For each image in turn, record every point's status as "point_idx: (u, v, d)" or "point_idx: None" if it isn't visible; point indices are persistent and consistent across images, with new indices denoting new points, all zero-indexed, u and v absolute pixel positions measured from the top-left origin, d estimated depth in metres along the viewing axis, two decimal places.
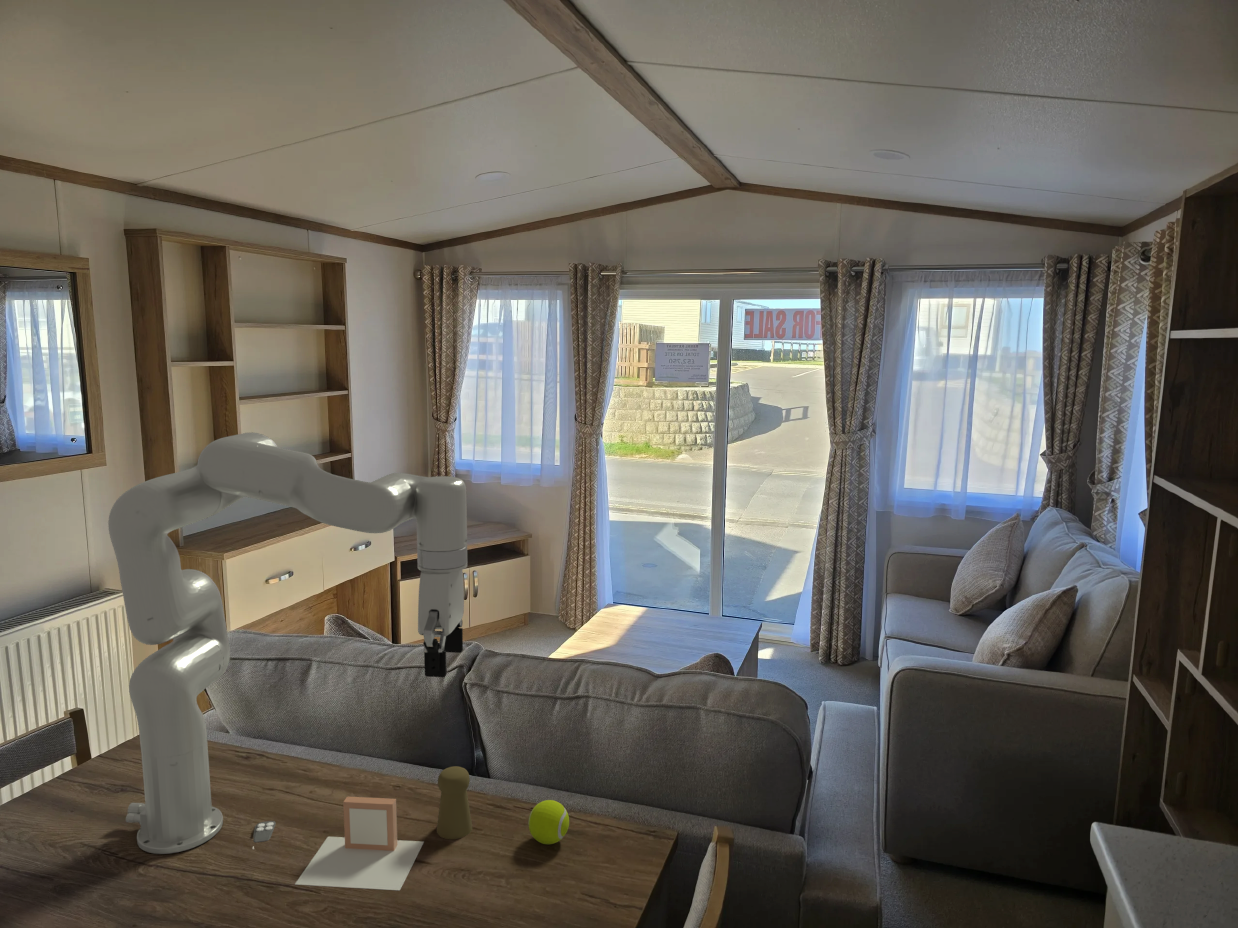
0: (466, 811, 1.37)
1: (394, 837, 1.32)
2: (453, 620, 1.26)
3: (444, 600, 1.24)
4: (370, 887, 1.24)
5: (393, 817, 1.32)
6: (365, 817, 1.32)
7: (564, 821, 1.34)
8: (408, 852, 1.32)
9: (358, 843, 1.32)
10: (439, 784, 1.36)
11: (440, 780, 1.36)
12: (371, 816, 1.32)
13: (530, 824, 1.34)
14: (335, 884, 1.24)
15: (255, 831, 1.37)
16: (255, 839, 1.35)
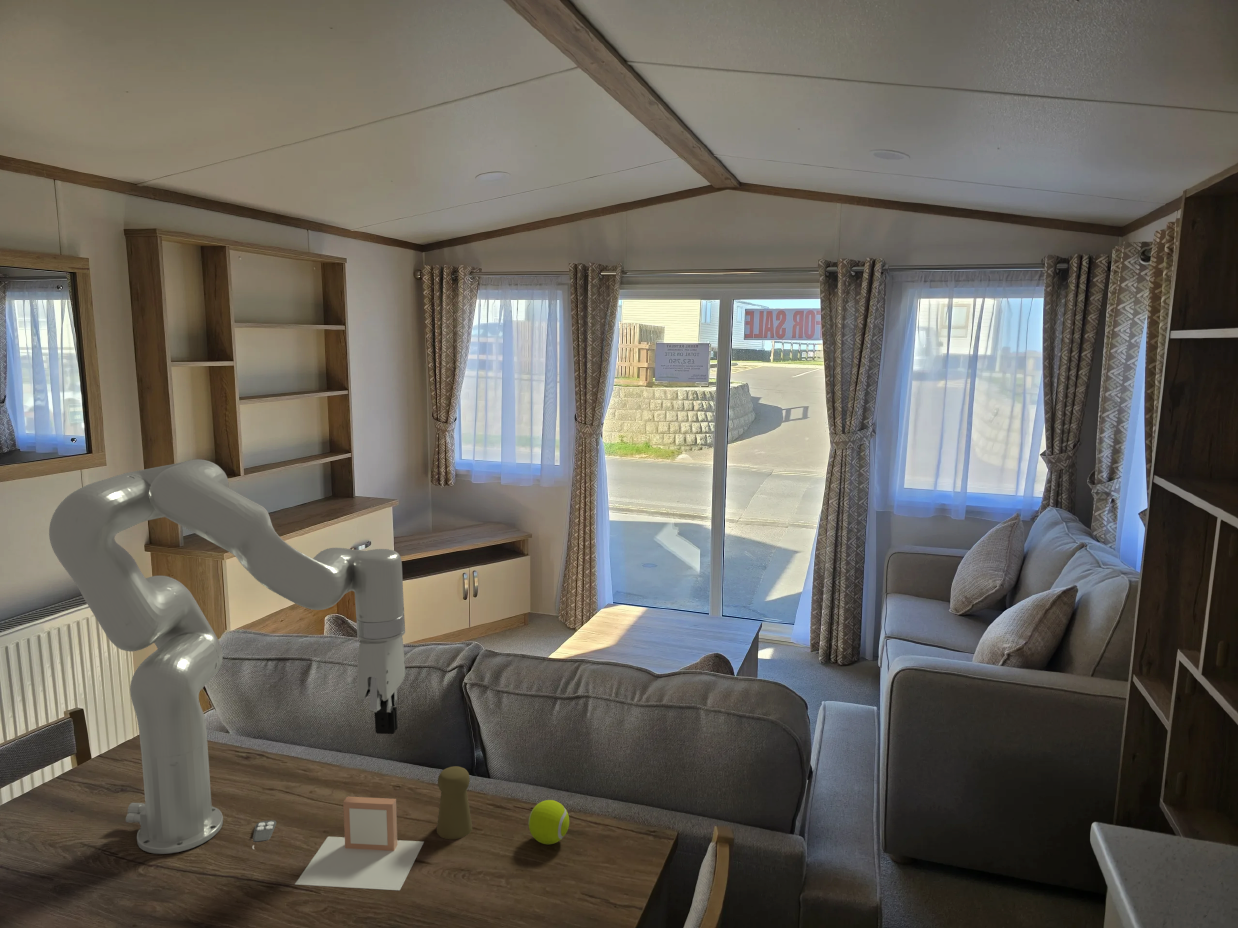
0: (466, 811, 1.37)
1: (394, 837, 1.32)
2: (392, 685, 1.34)
3: (381, 667, 1.31)
4: (370, 887, 1.24)
5: (393, 817, 1.32)
6: (365, 817, 1.32)
7: (564, 821, 1.34)
8: (408, 852, 1.32)
9: (358, 843, 1.32)
10: (439, 784, 1.36)
11: (440, 780, 1.36)
12: (371, 816, 1.32)
13: (530, 824, 1.34)
14: (335, 884, 1.24)
15: (255, 830, 1.37)
16: (255, 838, 1.35)
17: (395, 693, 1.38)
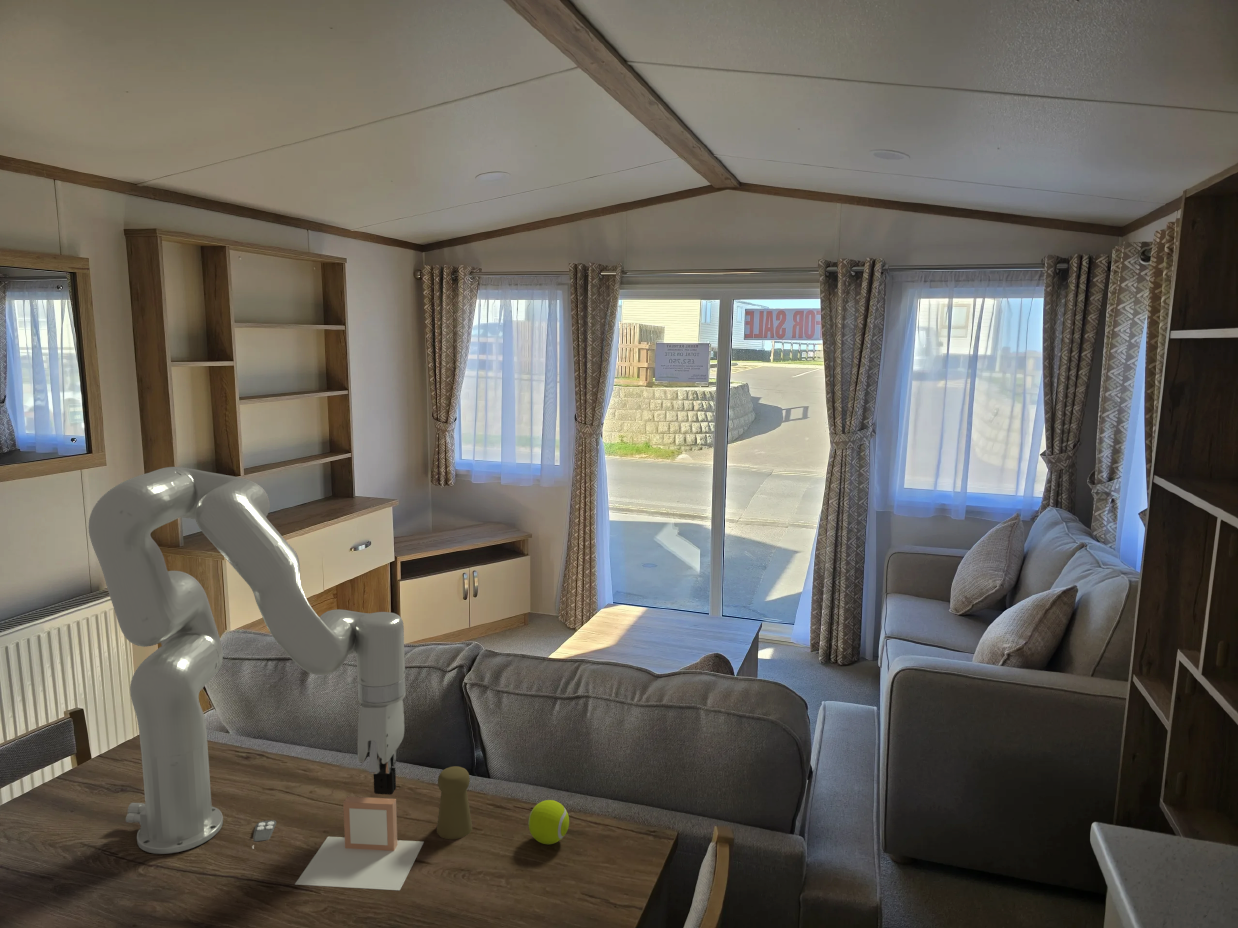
0: (466, 811, 1.37)
1: (394, 837, 1.32)
2: (391, 748, 1.35)
3: (381, 731, 1.33)
4: (370, 887, 1.24)
5: (393, 817, 1.32)
6: (365, 817, 1.32)
7: (564, 821, 1.34)
8: (408, 852, 1.32)
9: (358, 843, 1.32)
10: (439, 784, 1.36)
11: (440, 780, 1.36)
12: (371, 816, 1.32)
13: (530, 824, 1.34)
14: (335, 884, 1.24)
15: (255, 830, 1.37)
16: (255, 838, 1.35)
17: (394, 754, 1.40)
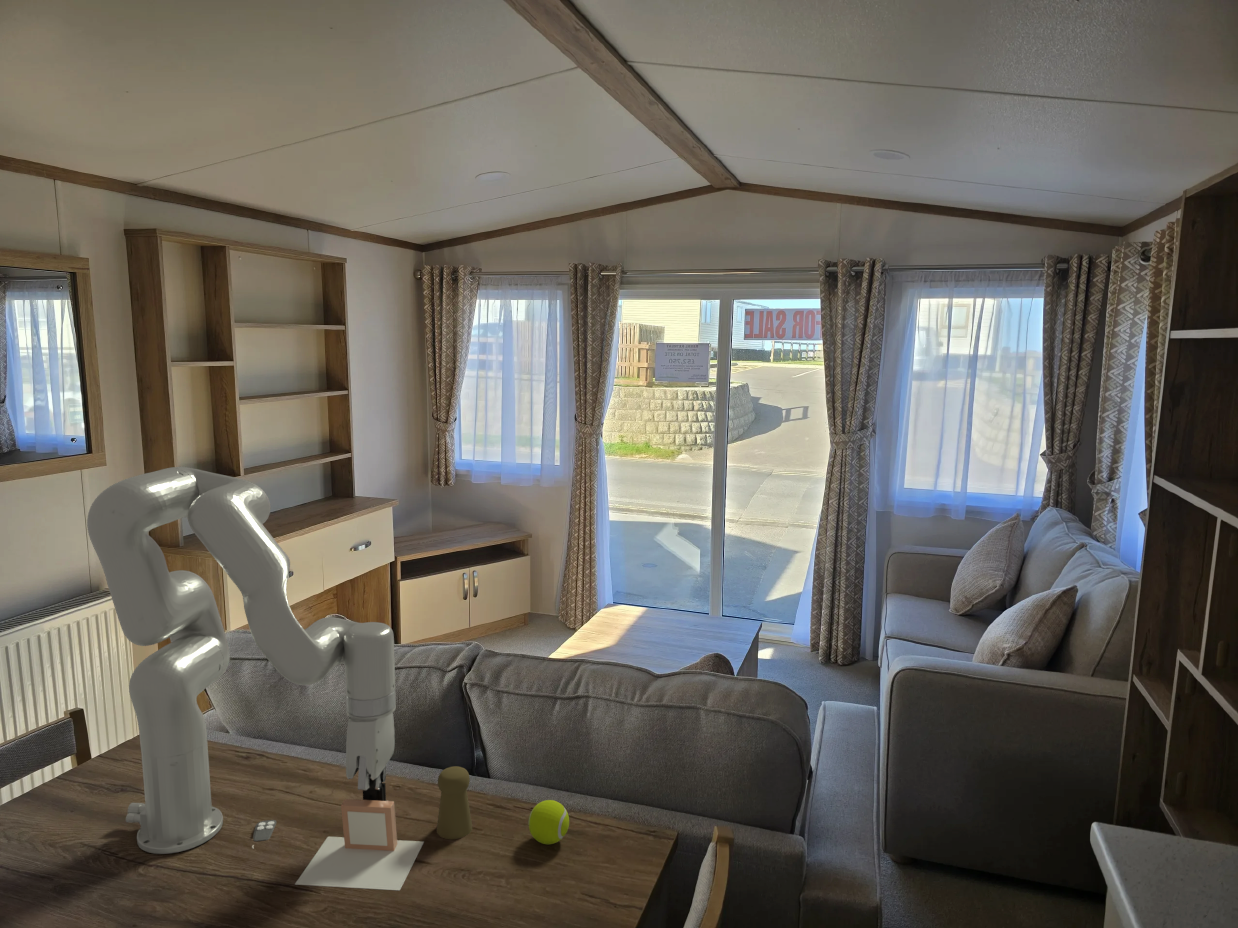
0: (466, 811, 1.37)
1: (393, 838, 1.32)
2: (381, 763, 1.31)
3: (371, 746, 1.28)
4: (370, 887, 1.24)
5: (392, 819, 1.31)
6: (364, 820, 1.31)
7: (564, 821, 1.34)
8: (408, 852, 1.32)
9: (358, 844, 1.32)
10: (439, 784, 1.36)
11: (440, 780, 1.36)
12: (370, 819, 1.31)
13: (530, 824, 1.34)
14: (335, 884, 1.24)
15: (255, 830, 1.37)
16: (255, 838, 1.35)
17: (384, 769, 1.35)
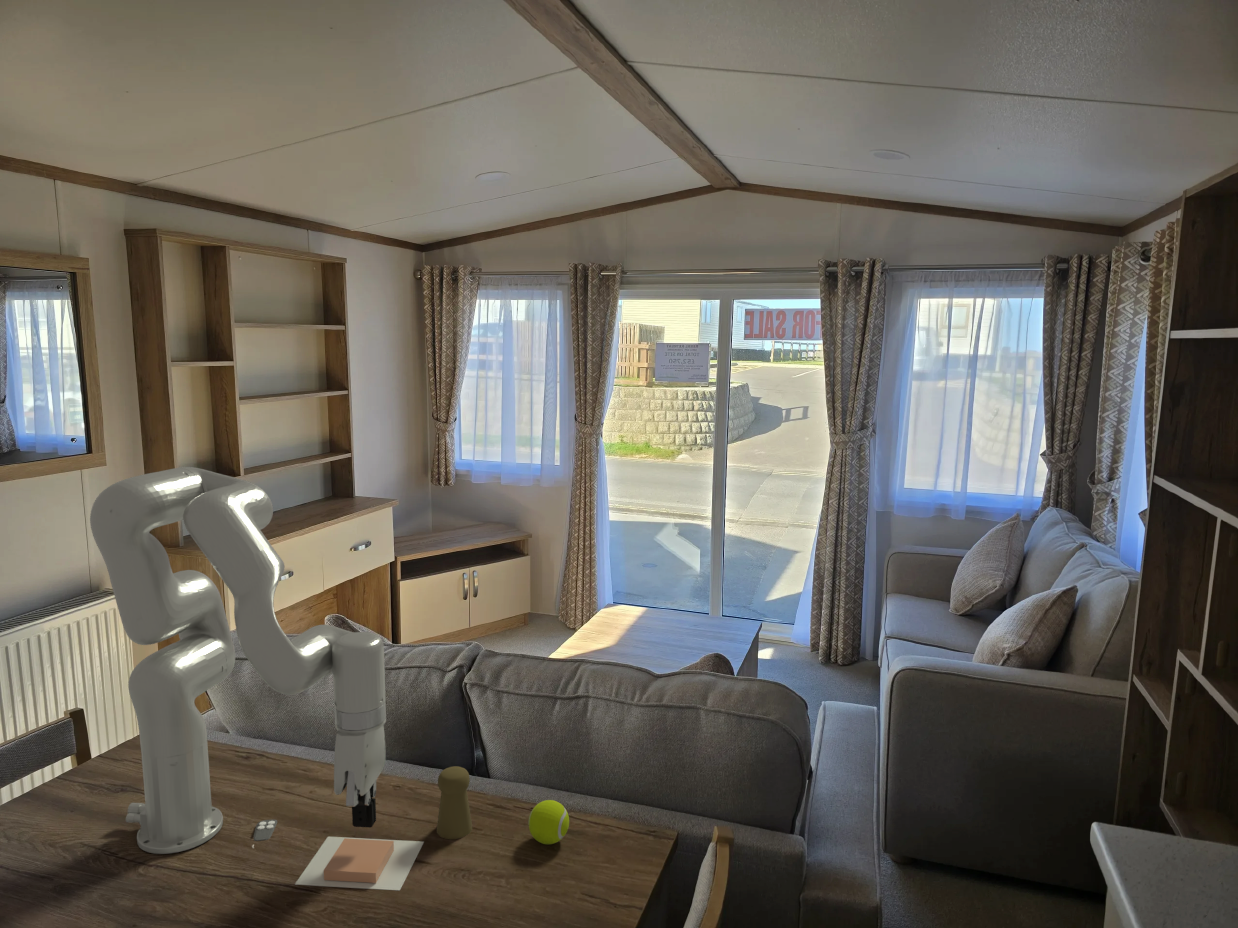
0: (466, 811, 1.37)
1: (389, 855, 1.30)
2: (370, 778, 1.26)
3: (359, 761, 1.24)
4: (370, 887, 1.24)
5: (381, 871, 1.27)
6: None
7: (564, 821, 1.34)
8: (408, 852, 1.32)
9: None
10: (439, 784, 1.36)
11: (440, 780, 1.36)
12: None
13: (530, 824, 1.34)
14: (335, 884, 1.24)
15: (256, 829, 1.37)
16: (255, 838, 1.35)
17: (374, 783, 1.30)
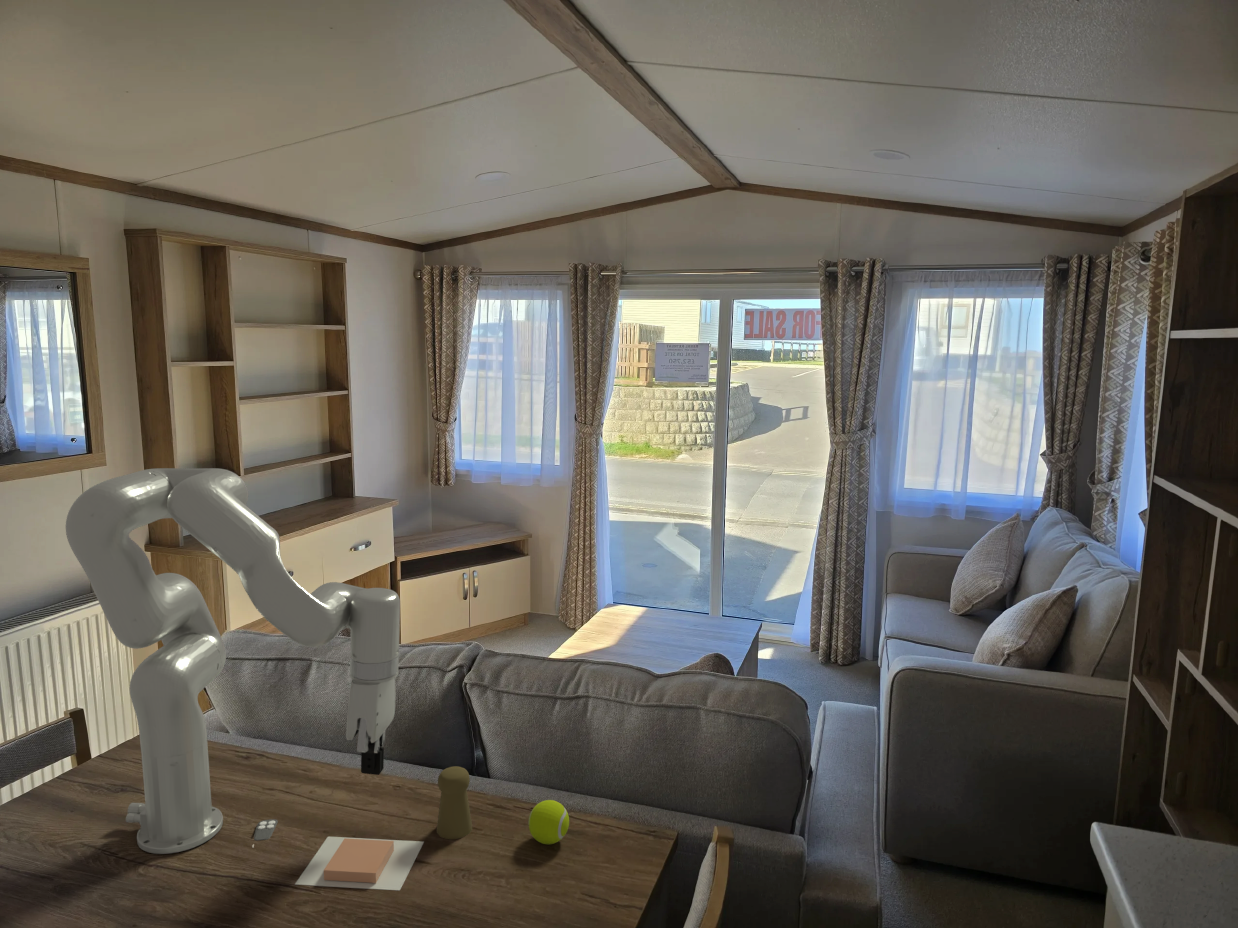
0: (466, 811, 1.37)
1: (389, 855, 1.30)
2: (381, 727, 1.32)
3: (372, 709, 1.30)
4: (370, 887, 1.24)
5: (381, 871, 1.27)
6: None
7: (564, 821, 1.34)
8: (408, 852, 1.32)
9: None
10: (439, 784, 1.36)
11: (440, 780, 1.36)
12: None
13: (530, 824, 1.34)
14: (335, 884, 1.24)
15: (256, 829, 1.37)
16: (256, 837, 1.35)
17: (383, 733, 1.37)
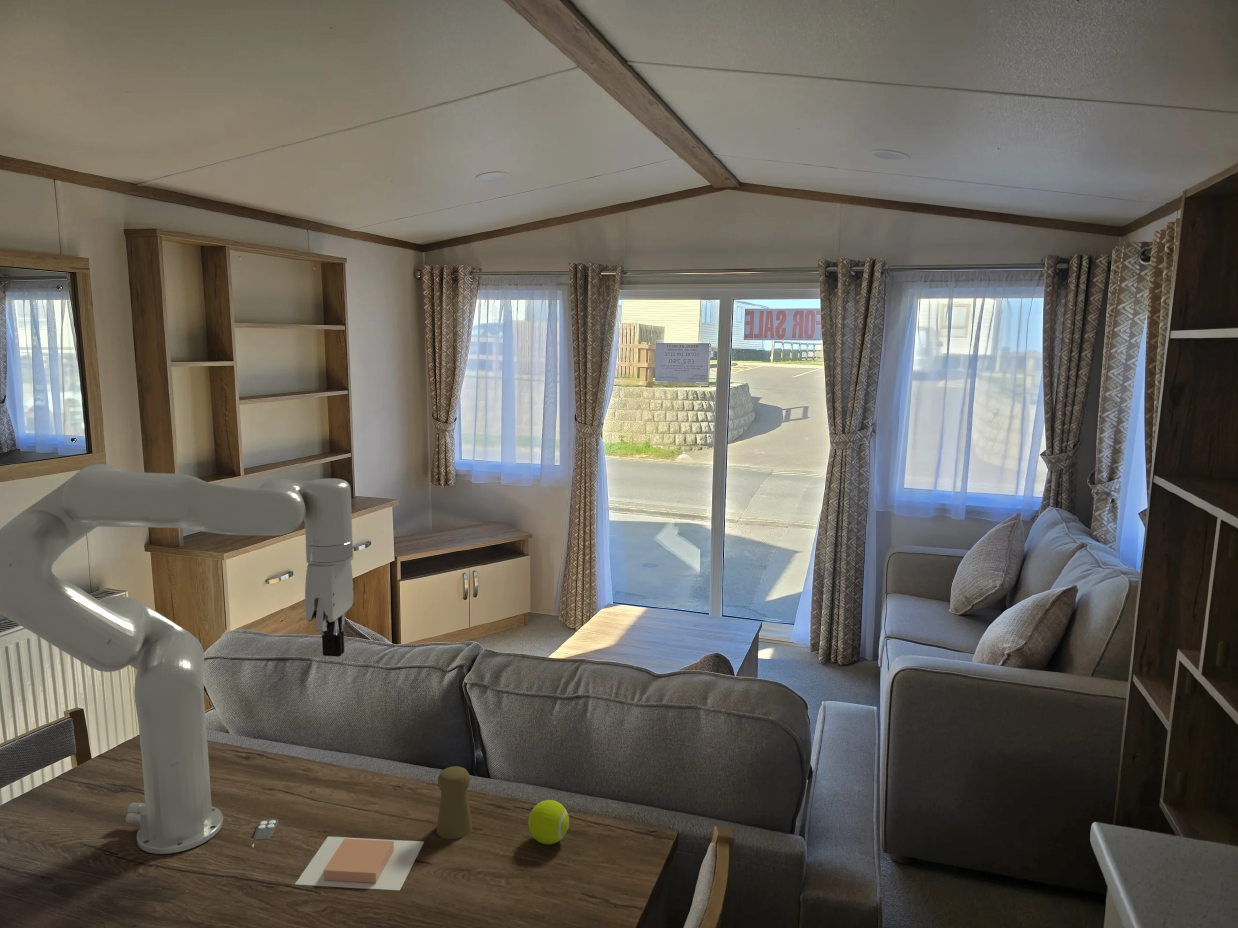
0: (466, 811, 1.37)
1: (389, 855, 1.30)
2: (338, 608, 1.40)
3: (328, 589, 1.37)
4: (370, 887, 1.24)
5: (381, 871, 1.27)
6: None
7: (564, 821, 1.34)
8: (408, 852, 1.32)
9: None
10: (439, 784, 1.36)
11: (440, 780, 1.36)
12: None
13: (530, 824, 1.34)
14: (335, 884, 1.24)
15: (257, 828, 1.38)
16: (256, 837, 1.35)
17: (343, 618, 1.44)
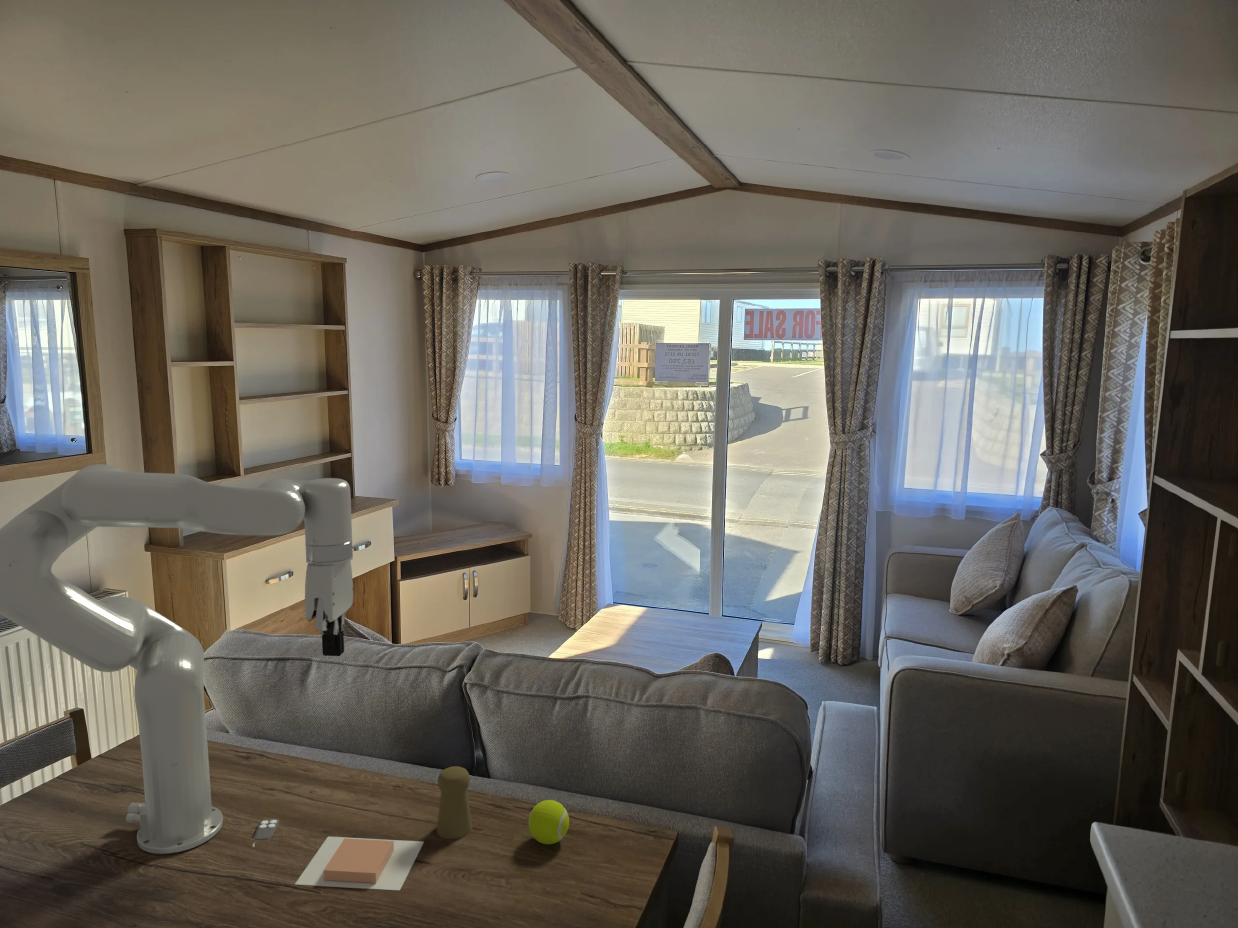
0: (466, 811, 1.37)
1: (389, 855, 1.30)
2: (338, 608, 1.40)
3: (327, 589, 1.37)
4: (370, 887, 1.24)
5: (381, 871, 1.27)
6: None
7: (564, 821, 1.34)
8: (408, 852, 1.32)
9: None
10: (439, 784, 1.36)
11: (440, 780, 1.36)
12: None
13: (530, 824, 1.34)
14: (335, 884, 1.24)
15: (258, 828, 1.38)
16: (257, 836, 1.35)
17: (342, 618, 1.44)
